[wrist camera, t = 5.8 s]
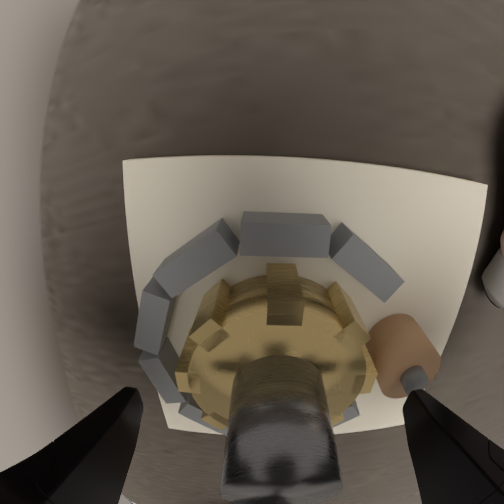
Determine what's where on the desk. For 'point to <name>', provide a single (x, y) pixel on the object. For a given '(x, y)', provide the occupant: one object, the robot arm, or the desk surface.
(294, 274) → the planet gear
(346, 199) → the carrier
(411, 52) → the desk surface
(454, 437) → the robot arm
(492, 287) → the light bulb
